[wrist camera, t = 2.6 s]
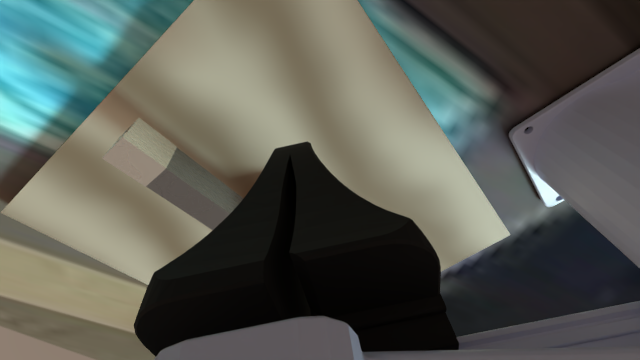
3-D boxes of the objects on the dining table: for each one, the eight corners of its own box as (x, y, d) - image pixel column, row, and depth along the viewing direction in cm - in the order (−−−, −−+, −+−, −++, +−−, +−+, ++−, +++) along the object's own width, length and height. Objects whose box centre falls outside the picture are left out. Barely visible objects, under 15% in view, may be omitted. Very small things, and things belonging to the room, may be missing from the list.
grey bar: (337, 244, 20) (342, 268, 19) (285, 277, 22) (285, 301, 20) (159, 96, 14) (145, 114, 13) (101, 155, 15) (81, 178, 14)
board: (288, -102, 13) (289, -105, 12) (503, 225, 25) (510, 234, 24) (12, 201, 20) (0, 212, 19) (286, 342, 32) (286, 352, 31)
